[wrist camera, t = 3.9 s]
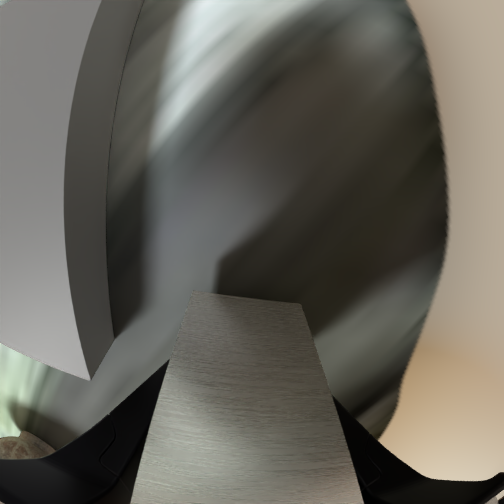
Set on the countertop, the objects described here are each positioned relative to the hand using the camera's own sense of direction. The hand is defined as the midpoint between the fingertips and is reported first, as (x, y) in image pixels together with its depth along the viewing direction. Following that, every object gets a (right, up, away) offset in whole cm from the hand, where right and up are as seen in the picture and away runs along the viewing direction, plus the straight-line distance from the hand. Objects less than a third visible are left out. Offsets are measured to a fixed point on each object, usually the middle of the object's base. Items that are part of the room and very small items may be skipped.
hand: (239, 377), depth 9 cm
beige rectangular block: (0, +1, +2) cm, 2 cm away
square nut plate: (-13, +8, 0) cm, 16 cm away
